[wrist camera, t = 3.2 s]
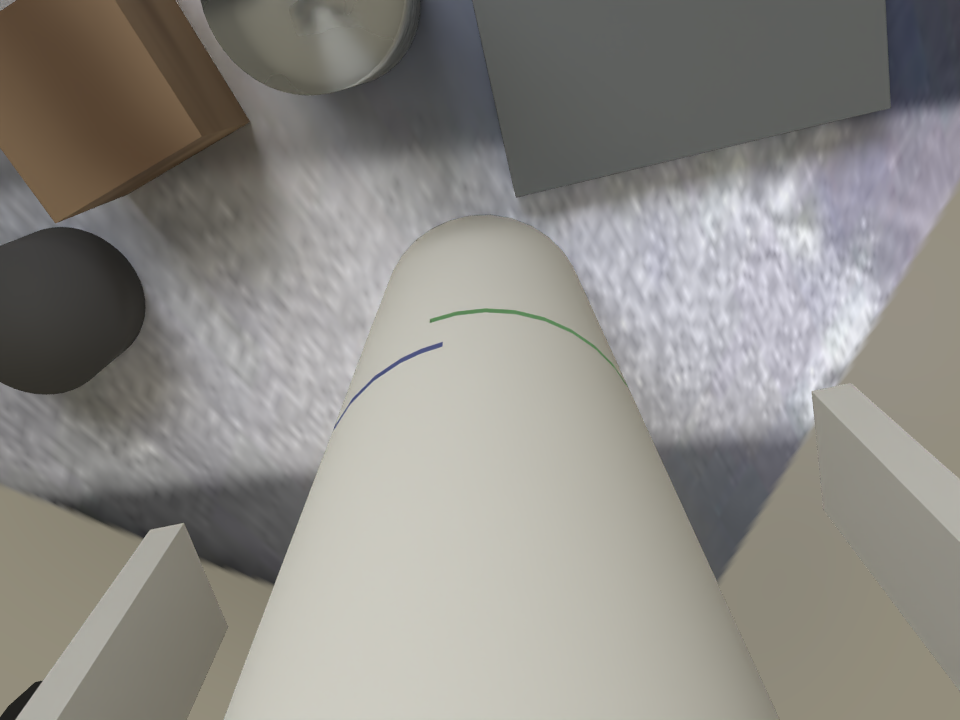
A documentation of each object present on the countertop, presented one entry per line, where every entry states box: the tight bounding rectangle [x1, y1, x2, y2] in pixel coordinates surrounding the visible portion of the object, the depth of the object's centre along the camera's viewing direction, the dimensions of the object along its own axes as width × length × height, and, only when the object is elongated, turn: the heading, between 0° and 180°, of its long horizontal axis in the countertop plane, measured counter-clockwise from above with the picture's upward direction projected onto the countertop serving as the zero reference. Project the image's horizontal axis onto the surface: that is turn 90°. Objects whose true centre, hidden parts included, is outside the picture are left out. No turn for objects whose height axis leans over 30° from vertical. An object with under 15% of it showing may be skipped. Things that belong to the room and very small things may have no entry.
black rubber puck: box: [0, 227, 145, 394], centre depth 27 cm, size 5×5×3 cm
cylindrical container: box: [224, 215, 780, 720], centre depth 17 cm, size 7×7×25 cm
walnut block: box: [0, 0, 250, 223], centre depth 24 cm, size 5×5×5 cm
